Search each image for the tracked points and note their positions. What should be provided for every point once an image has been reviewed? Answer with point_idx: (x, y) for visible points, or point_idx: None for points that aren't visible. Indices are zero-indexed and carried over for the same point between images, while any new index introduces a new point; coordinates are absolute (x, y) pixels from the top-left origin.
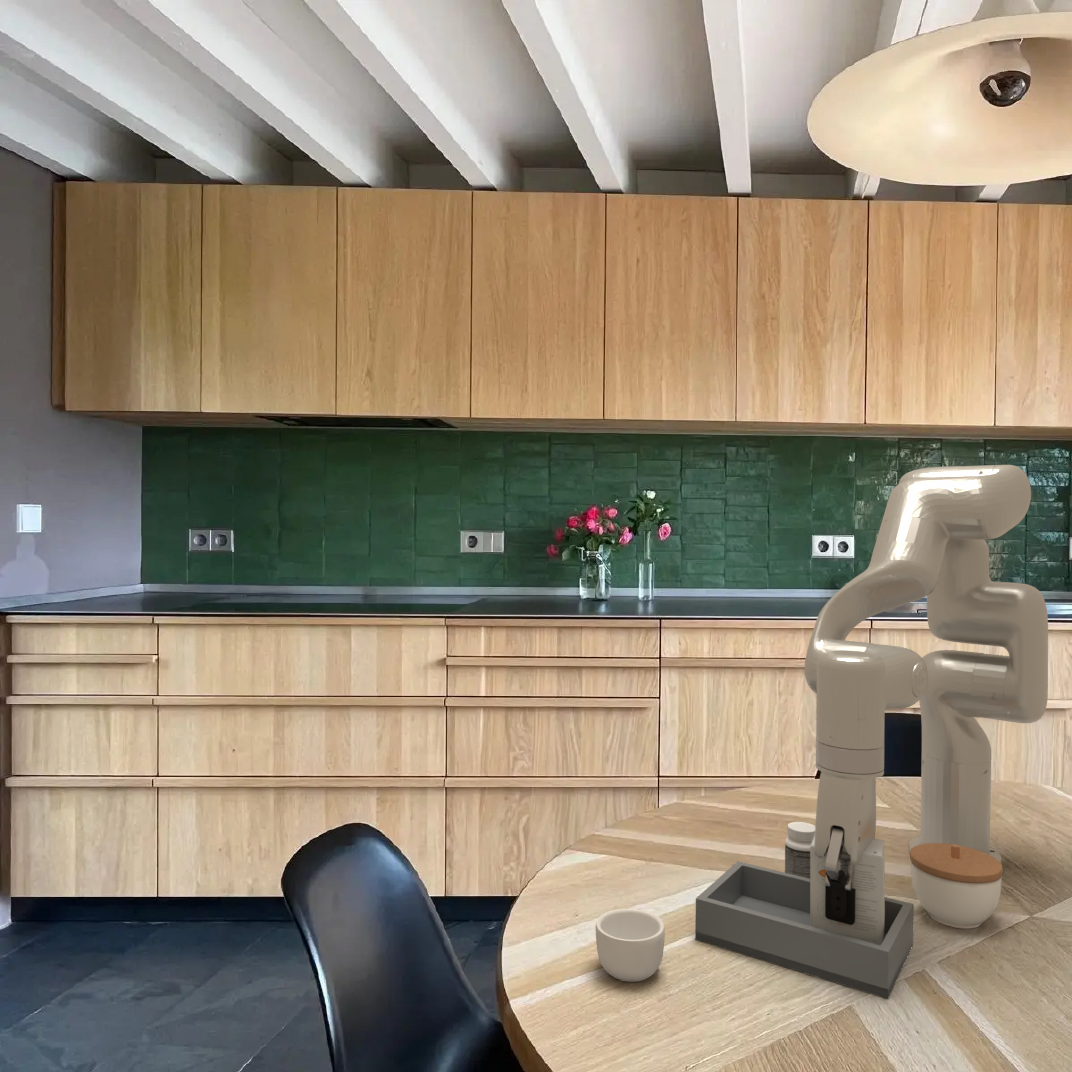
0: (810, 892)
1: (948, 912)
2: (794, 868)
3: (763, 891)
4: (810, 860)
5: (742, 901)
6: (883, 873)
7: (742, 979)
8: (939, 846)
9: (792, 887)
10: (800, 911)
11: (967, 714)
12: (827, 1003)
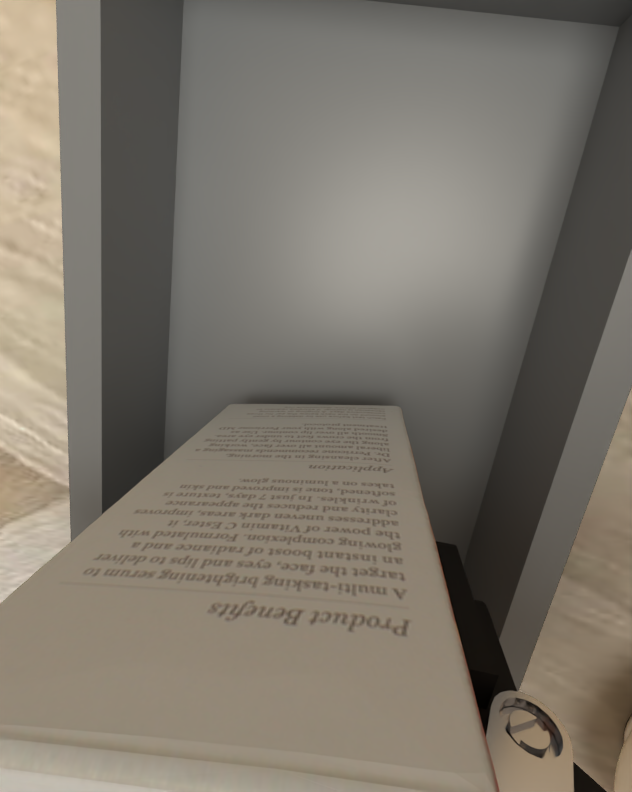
0: (160, 465)
1: (621, 774)
2: None
3: (606, 136)
4: (13, 592)
5: (542, 52)
6: None
7: (21, 215)
8: None
9: (589, 288)
10: (527, 321)
11: None
12: (49, 444)
